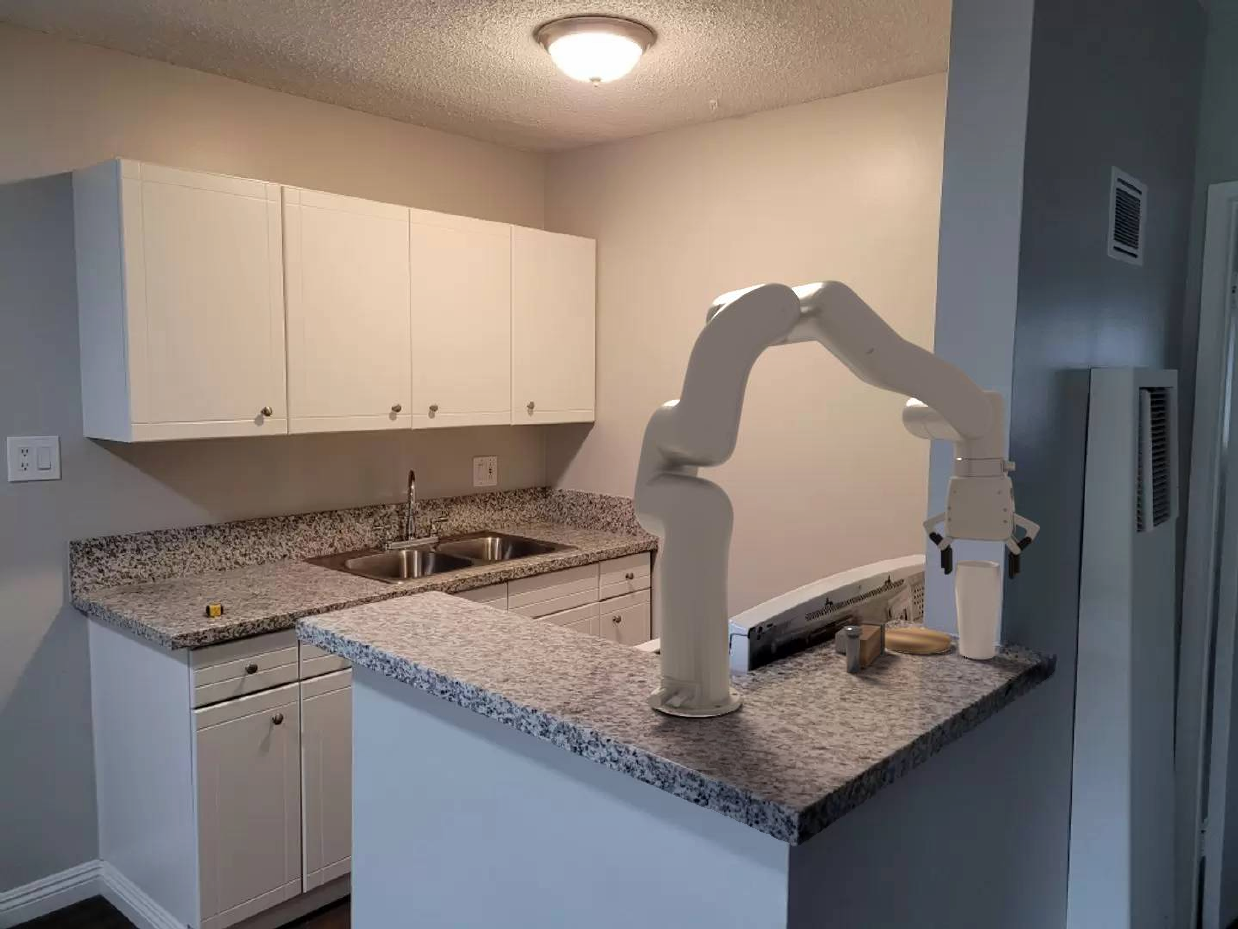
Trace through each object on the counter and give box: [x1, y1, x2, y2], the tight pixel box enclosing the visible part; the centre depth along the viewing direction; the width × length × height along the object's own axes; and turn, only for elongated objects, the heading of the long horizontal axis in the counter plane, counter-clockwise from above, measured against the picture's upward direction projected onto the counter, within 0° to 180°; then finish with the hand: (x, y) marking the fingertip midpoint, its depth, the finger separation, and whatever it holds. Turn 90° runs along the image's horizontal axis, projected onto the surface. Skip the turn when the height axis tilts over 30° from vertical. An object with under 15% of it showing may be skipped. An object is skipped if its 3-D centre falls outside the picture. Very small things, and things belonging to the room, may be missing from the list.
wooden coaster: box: [885, 627, 952, 655], centre depth 151 cm, size 11×11×2 cm
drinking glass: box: [954, 559, 1002, 661], centre depth 143 cm, size 7×7×15 cm
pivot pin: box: [843, 625, 863, 674], centre depth 137 cm, size 3×3×7 cm
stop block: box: [834, 628, 846, 654], centre depth 149 cm, size 4×2×3 cm, turn 149°
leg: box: [859, 619, 886, 669], centre depth 143 cm, size 3×11×5 cm, turn 150°
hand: (979, 575), depth 143 cm, fingers open, 9 cm apart
